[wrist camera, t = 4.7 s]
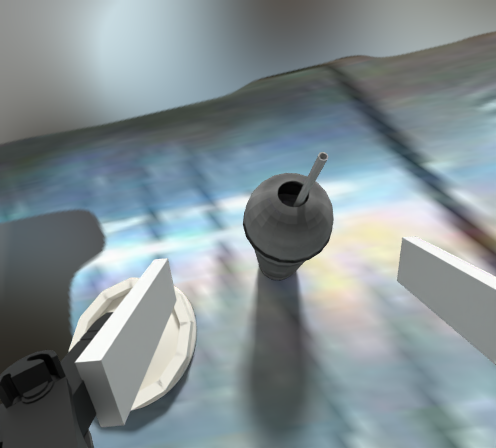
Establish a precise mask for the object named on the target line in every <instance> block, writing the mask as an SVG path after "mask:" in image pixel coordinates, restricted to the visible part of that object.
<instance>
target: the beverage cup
mask: <svg viewBox="0 0 496 448" xmlns="http://www.w3.org/2000/svg"><path fill="white" fill-rule="evenodd" d="M327 159H328V155H327V153H324V152H321V153H319V155H318V157H317V159H316V161H315V163H314V165H313V167H312V169H311V171H310V173H309V175H308V177H307V176H304V175H300V174H297V173H284V174H279V175H275V176H272V177H271V178H269V179H267V180H265V181H263V182H262V183H261V184H260V185H259V186H258V187H257V188H256V189H255V190H254V191H253V193H252V194H251V197H250V199H249V201H248V203H247V205H246V209H245V212H244V219H243V227H244V231H245V234H246V237H247V239H248V240H249V242H250V243H251V245H252V246H253V248H254V250H255V253H256V256H257V260H258V263H259V266H260V268H261V270H262V272H263V273H264V274H265V275H266V276H267V277H268V278H271V279H273V280H283V279H286V278H288V277H289V276H290V275H292V274H293V273H294V272H295V271H296V270H297V269H298V268H299V267H300V266H301V265H302V264H303V263H304V262H305V261H306V260H309V259H311V258H312V257H314V256H316V255H317V254H319V253H320V252H321V251H322V250H323V248H324V247H325V246H326V245H327V243H328V242H329V239H330V235H331V232H332V225H333V220H334V219H333V208H332V204H331V201H330V199H329V197H328V195H327V193H326V192H325V190H324V189H323V188H322V187H321V186H320V185H319V184H318V183H317V182H315V181H316V179H317V177H318V175H319V173H320V172H321V170H322V168H323V166H324V165H325V163H326V161H327Z"/></svg>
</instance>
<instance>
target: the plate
mask: <svg viewBox="0 0 496 448" xmlns="http://www.w3.org/2000/svg"><path fill="white" fill-rule="evenodd" d="M139 279H140V278H129V279H127V280H124V281H122V282H120V283H118V284H116V285H114V286H112V287H110V288H108V289H106V290H104V291H103V292H101V293H100V295H99V296H98V297H97V298H96V299H95V300H94V302H93V303H92V304H91V305H90V306H89V307H88V309H87V310H86V311H85V312H84V313H83V314H82V316H81V317H80V318H79V321H78V324H77V327H76V330H75V333H74V336H73V340H72V343H71V346H70V349H69V351H70V350H71V349H72V348H73V347H74V345H75V344H76V343H77V342H78V341H80V338H81V337H82V336H83V335H84V334H85V333H87V330H88V329H89V328H90V326H91V325H92V324H93V323H94V322H95V321H96V320H97V319H99V318H100V317H101V316H103V315H104V314H105V313H107V312H114V311H115V310H116V309H117V307H118V306H119V305H120V303H121V302H122V301H123V299H124V298H125V297H126V296H127V294H128V293H129V292H130V290H131V289H132V288H133V287H134V285H135V284H136V283H137V281H138V280H139ZM174 290H175V295H176V299H177V301H176V303H175V306H174V308H173V310H172V313H171V315H170V318H169V320H168V322H167V325H166V327H165V329H164V332H163V334H162V337H161V339H160V341H159V344H158V346H157V349H156V351H155V353H154V356H153V358H152V360H151V363H150V365H149V368H148V370H147V372H146V375H145V377H144V379H143V382H142V384H141V387H140V389H139V391H138V394H137V396H136V399H135V401H134V403H133V406H132V408H131V410H135V409H139V408H142V407H145V406H147V405H149V404H151V403H153V402H155V401H156V400H158V399H160V398H161V397H162V396H164V395H165V394H166V393H168V392H169V391H170V390H171V389H172V388H173V387H174V386H175V385H176V384H177V382H178V381H179V380H180V379H181V377H182V376H183V374H184V373H185V371H186V369H187V367H188V366H189V364H190V361H191V359H192V356H193V353H194V350H195V345H196V339H197V322H196V317H195V313H194V310H193V307H192V305H191V303H190V301H189V300H188V298H187V297H186V295H185V294H184V293H183V292H182V291H181V290H180V289H178V288H177V287H176V286H174ZM131 410H130V411H131Z"/></svg>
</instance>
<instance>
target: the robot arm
mask: <svg viewBox="0 0 496 448" xmlns="http://www.w3.org/2000/svg"><path fill="white" fill-rule="evenodd" d="M397 281H398V282H399V283H400V284H401V285H403V286H404V287H405V288H406V289H407V290H408V291H410V292H411V293H412V294H413V295H414V296H415V297H417V298H418V299H419V300H420V301H421V302H422V303H424V304H425V305H426V306H427V307H428V308H429V309H431V310H432V311H433V312H434V313H435V314H436V315H438V316H439V317H440V318H441V319H442V320H444V321H445V322H446V323H447V324H448V325H449V326H451V327H452V328H453V329H454V330H455V331H456V332H458V333H459V334H460V335H461V336H462V337H463V338H465V339H466V340H467V341H468V342H469V343H470V344H472V345H473V346H474V347H475V348H476V349H477V350H479V351H480V352H481V353H482V354H483V355H485V356H486V357H487V358H488V359H489V360H490V361H492V362H493V363H494V364H495V365H496V277H495V276H493V275H491V274H489V273H487V272H485V271H483V270H481V269H479V268H477V267H475V266H474V265H472V264H470V263H468V262H466V261H464V260H462V259H460V258H458V257H456V256H454V255H452V254H450V253H448V252H446V251H444V250H442V249H440V248H438V247H436V246H434V245H432V244H430V243H428V242H426V241H424V240H422V239H420V238H418V237H416V236H415V237H403V238H402V245H401V253H400V261H399V269H398V277H397ZM176 301H177V299H176V295H175V290H174V285H173V280H172V275H171V271H170V266H169V261H168V258H167V259H156V260H154V261H153V262H152V263H151V265H150V266H149V267H148V268H147V270H146V271H145V272H144V274H143V275H142V276H141V277H140V279H139V280H138V281H137V283H136V284H135V285H134V287H133V288H132V289H131V290H130V292H129V293H128V294H127V296H126V297H125V298H124V299H123V301H122V302H121V303H120V305H119V306H118V307H117V309H116V310H115V311H114V312H107V313H105V314H104V315H103V316H101V317H100V318H99V319H97V320H96V321H95V322H94V323H93V324H92V325H91V326H90V328H89V329H88V330H87V333H85V334H84V335H83V336H82V337H81V338H80V341H78V342H77V343H76V344H75V345H74V347H73V348H72V349H71V350H70V351H69V353H68V354H67V355H66V356H65V357H64V359H63V360H62V361H61V362H60V361H59V359H58V356H57V354H56V353H55V352H54V351H51V350H44V351H38V352H36V353H33V354H30V355H28V356H26V357H24V358H23V359H20V360H18V361H17V362H15V363H14V364H12V365H11V366H10V367H8V368H7V369H6V370H5V371H4V372H3V373H2V374H1V375H0V399H1V401H2V402H3V404H0V448H94V446H93V441H92V437H91V433H90V431H89V427H90V425H91V423H92V421H93V419H94V417H95V416H97V419H98V421H99V424H100V426H101V427H110V426H121V425H125V422H126V420H127V418H128V415H129V413H130V410H131V408H132V406H133V403H134V401H135V399H136V396H137V394H138V391H139V389H140V387H141V384H142V382H143V379H144V377H145V375H146V372H147V370H148V368H149V365H150V363H151V360H152V358H153V356H154V353H155V351H156V349H157V346H158V344H159V341H160V339H161V337H162V334H163V332H164V329H165V327H166V325H167V322H168V320H169V318H170V315H171V313H172V310H173V308H174V306H175V303H176Z"/></svg>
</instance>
